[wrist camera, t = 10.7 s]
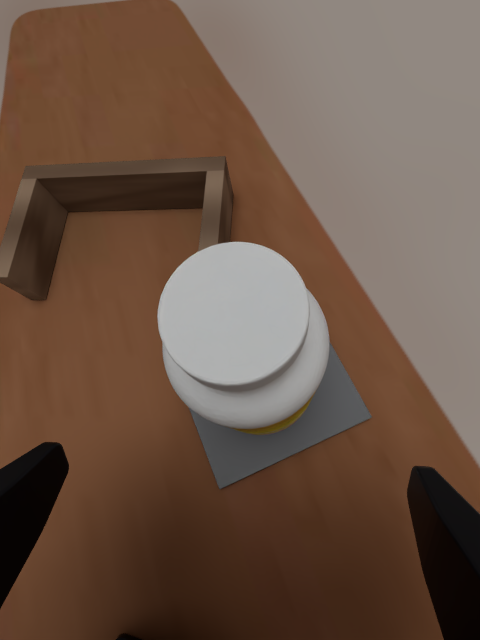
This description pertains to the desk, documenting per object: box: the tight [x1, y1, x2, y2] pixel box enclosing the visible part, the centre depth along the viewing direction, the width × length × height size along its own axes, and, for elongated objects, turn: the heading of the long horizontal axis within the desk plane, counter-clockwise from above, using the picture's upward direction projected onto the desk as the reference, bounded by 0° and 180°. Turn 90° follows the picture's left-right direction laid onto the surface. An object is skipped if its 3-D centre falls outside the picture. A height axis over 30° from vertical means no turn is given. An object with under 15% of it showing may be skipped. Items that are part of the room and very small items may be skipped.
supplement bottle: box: [158, 242, 329, 435], centre depth 17 cm, size 7×7×13 cm
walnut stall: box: [0, 156, 233, 300], centre depth 26 cm, size 9×15×4 cm, turn 87°
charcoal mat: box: [189, 342, 372, 489], centre depth 23 cm, size 10×10×1 cm
